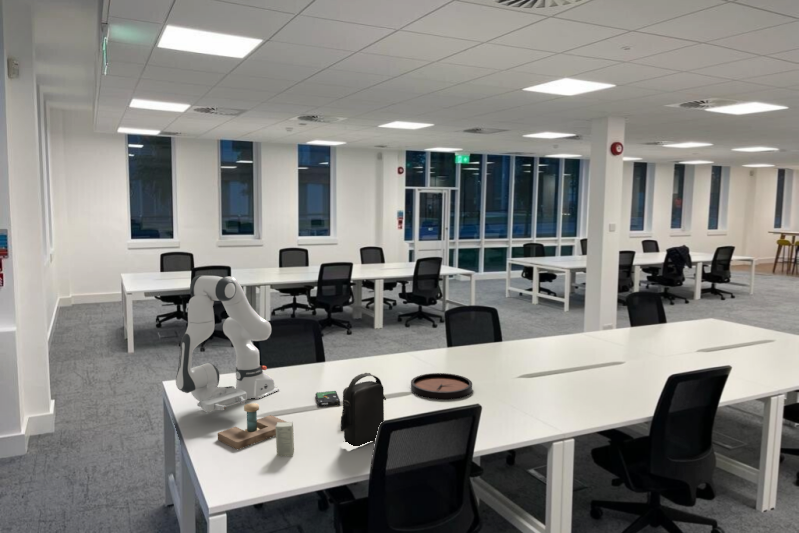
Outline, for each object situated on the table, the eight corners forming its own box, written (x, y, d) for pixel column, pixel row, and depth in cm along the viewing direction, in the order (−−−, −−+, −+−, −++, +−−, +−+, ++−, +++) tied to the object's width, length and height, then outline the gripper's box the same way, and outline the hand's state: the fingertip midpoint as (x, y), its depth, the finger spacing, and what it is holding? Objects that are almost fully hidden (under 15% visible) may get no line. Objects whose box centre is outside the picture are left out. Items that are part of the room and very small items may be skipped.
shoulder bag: (348, 452, 227) (348, 382, 223) (333, 445, 233) (333, 377, 230) (390, 436, 242) (391, 370, 239) (376, 429, 249) (376, 365, 245)
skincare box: (294, 451, 227) (293, 421, 226) (292, 456, 223) (292, 426, 221) (278, 451, 227) (277, 421, 225) (276, 457, 222) (275, 426, 221)
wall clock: (441, 369, 323) (485, 383, 299) (441, 376, 323) (484, 390, 300) (398, 381, 302) (441, 396, 279) (398, 388, 303) (441, 405, 279)
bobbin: (254, 429, 248) (253, 402, 247) (262, 433, 244) (261, 405, 243) (241, 433, 244) (241, 406, 242) (250, 437, 240) (249, 409, 238)
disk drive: (340, 406, 278) (335, 395, 292) (340, 400, 278) (335, 390, 292) (318, 408, 275) (315, 397, 289) (318, 402, 275) (314, 391, 289)
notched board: (270, 421, 257) (270, 415, 257) (290, 430, 248) (290, 423, 247) (217, 439, 238) (217, 432, 237) (237, 449, 228) (237, 442, 228)
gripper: (194, 396, 253) (212, 404, 243) (235, 385, 268) (253, 391, 259) (195, 411, 253) (212, 419, 244) (236, 398, 269) (254, 405, 260)
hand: (234, 405), depth 252 cm, fingers open, 8 cm apart
